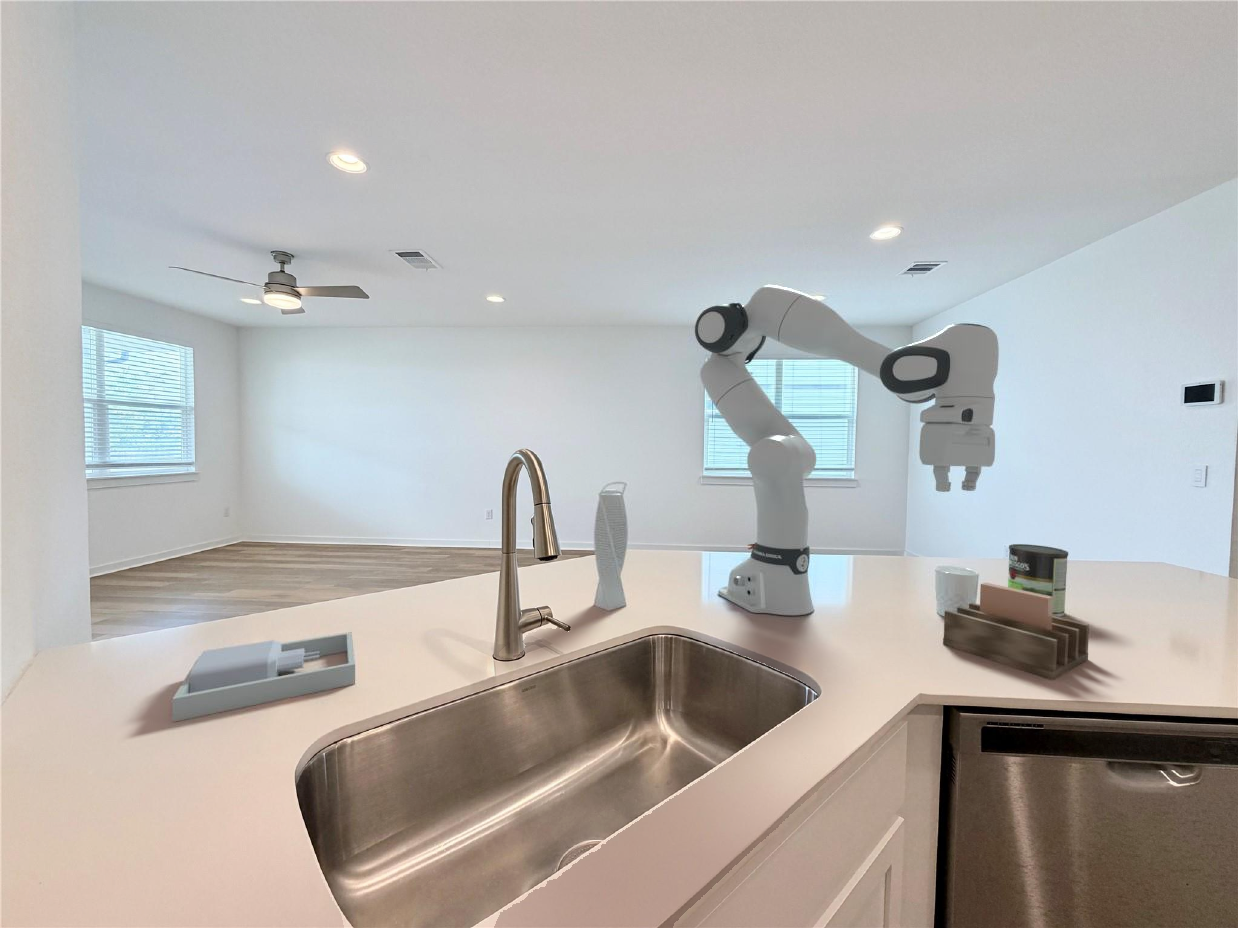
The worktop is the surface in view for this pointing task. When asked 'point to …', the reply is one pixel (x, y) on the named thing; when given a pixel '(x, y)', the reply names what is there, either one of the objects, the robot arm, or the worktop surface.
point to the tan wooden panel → (1017, 605)
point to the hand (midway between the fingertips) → (955, 491)
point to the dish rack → (1018, 641)
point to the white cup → (955, 588)
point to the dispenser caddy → (272, 682)
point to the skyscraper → (610, 547)
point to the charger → (244, 664)
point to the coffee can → (1039, 572)
